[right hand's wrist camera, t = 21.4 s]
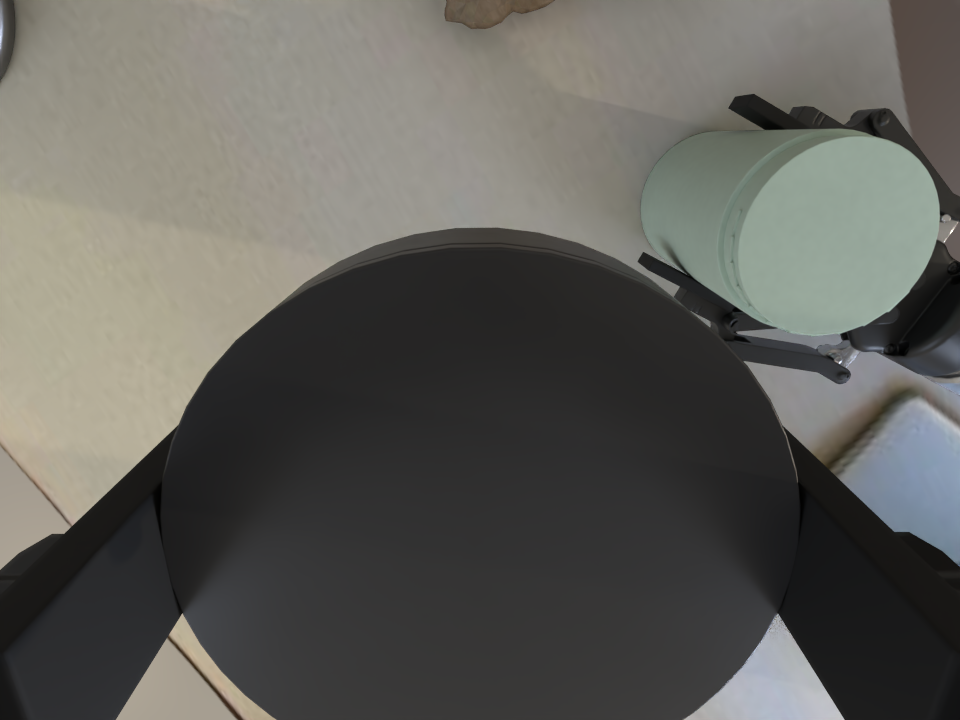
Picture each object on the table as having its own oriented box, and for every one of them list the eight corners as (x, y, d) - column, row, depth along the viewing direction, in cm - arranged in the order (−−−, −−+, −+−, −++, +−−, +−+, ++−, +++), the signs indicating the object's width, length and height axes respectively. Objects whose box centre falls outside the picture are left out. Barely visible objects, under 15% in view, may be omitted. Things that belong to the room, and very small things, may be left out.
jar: (612, 214, 45) (687, 257, 29) (710, 100, 42) (854, 77, 26) (705, 295, 47) (823, 378, 31) (804, 192, 45) (991, 224, 28)
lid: (622, 736, 15) (644, 827, 13) (175, 629, 14) (123, 711, 12) (853, 334, 11) (933, 376, 9) (266, 138, 10) (214, 138, 8)
